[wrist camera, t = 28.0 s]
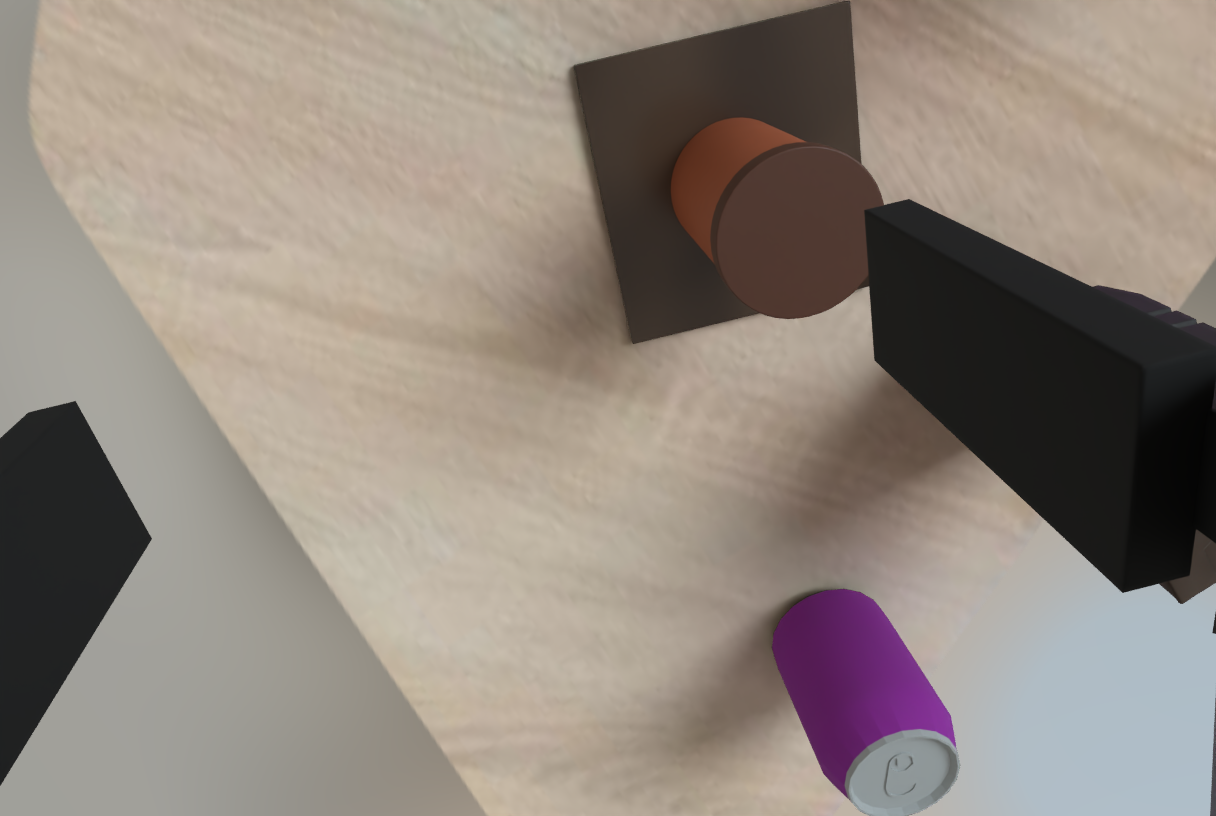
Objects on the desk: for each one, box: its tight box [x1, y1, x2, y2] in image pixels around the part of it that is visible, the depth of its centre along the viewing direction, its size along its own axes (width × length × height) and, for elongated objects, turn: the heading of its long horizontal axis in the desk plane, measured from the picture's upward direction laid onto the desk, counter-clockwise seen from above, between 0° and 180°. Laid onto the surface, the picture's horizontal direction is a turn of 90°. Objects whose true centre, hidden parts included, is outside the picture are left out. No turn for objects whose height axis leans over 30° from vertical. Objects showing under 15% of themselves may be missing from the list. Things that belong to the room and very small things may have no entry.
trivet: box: [574, 1, 869, 344], centre depth 42 cm, size 13×14×1 cm
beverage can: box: [772, 589, 960, 816], centre depth 51 cm, size 8×8×12 cm
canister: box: [671, 117, 884, 319], centre depth 38 cm, size 7×7×10 cm
